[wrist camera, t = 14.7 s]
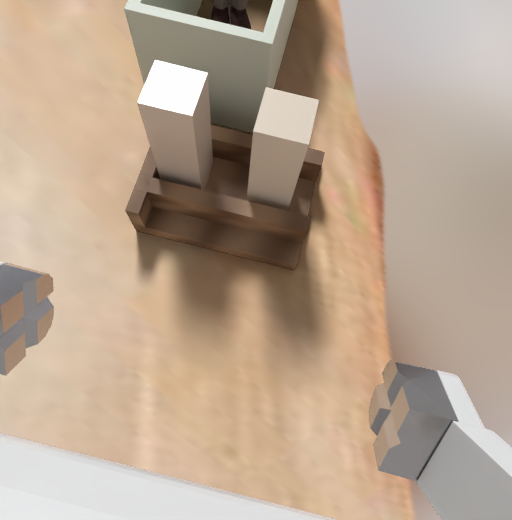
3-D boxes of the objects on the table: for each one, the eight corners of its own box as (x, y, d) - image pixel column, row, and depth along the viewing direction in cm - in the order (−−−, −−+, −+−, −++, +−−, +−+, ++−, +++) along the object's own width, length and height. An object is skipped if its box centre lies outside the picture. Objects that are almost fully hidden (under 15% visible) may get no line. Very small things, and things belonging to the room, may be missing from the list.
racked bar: (162, 187, 40) (137, 102, 28) (175, 154, 41) (155, 59, 30) (202, 197, 40) (192, 115, 28) (213, 163, 41) (207, 72, 30)
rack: (136, 230, 40) (125, 210, 35) (175, 124, 44) (170, 95, 40) (294, 270, 39) (303, 254, 35) (318, 159, 44) (328, 133, 39)
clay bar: (245, 208, 40) (253, 131, 28) (255, 173, 41) (265, 87, 30) (285, 218, 39) (308, 144, 28) (293, 183, 41) (319, 99, 29)
